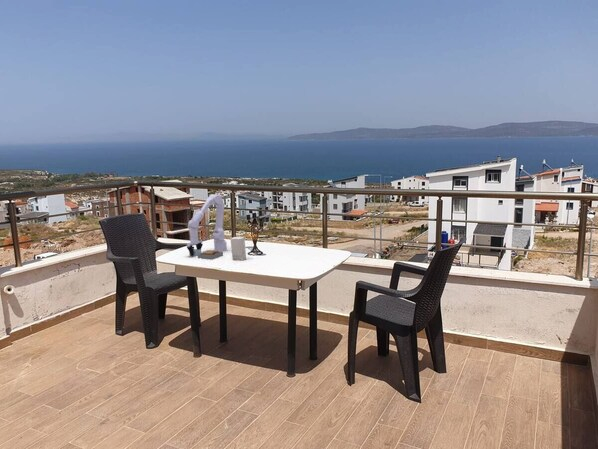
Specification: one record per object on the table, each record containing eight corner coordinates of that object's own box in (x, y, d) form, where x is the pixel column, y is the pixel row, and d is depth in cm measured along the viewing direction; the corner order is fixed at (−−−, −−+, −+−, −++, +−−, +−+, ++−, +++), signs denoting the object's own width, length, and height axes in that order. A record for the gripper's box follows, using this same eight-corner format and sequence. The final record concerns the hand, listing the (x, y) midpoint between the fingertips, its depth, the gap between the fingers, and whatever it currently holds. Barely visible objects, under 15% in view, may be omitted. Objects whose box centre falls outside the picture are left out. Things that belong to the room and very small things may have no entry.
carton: (194, 255, 323) (193, 249, 322) (201, 256, 320) (201, 249, 319) (189, 257, 319) (189, 250, 318) (197, 257, 316) (196, 251, 315)
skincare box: (246, 258, 308) (245, 236, 306) (242, 260, 302) (241, 238, 299) (235, 257, 310) (234, 236, 308) (231, 260, 304) (230, 238, 302)
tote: (209, 255, 321) (209, 250, 321) (223, 256, 315) (222, 252, 315) (198, 259, 310) (197, 254, 310) (212, 260, 304) (211, 255, 304)
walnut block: (209, 255, 318) (209, 249, 317) (218, 256, 314) (218, 250, 314) (202, 257, 311) (202, 252, 310) (211, 258, 307) (211, 253, 307)
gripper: (196, 234, 325) (197, 252, 327) (183, 237, 312) (184, 256, 315) (203, 234, 322) (205, 252, 324) (190, 238, 309) (192, 257, 311)
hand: (195, 254), depth 319 cm, fingers open, 7 cm apart
